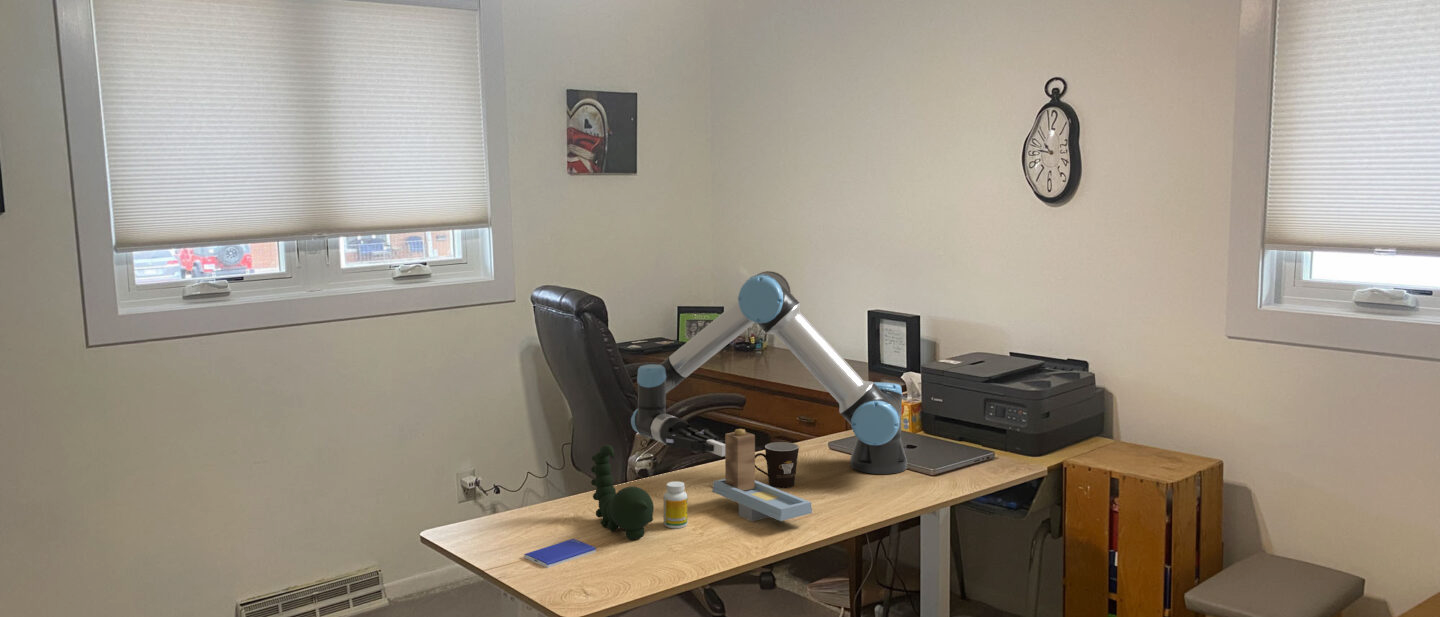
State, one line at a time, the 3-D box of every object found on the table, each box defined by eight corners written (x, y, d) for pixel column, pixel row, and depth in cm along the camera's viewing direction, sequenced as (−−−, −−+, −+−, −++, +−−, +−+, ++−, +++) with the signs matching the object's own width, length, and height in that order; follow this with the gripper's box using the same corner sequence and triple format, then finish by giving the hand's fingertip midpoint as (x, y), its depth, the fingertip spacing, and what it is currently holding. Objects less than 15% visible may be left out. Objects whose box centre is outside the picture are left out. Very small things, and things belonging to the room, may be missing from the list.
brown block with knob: (725, 486, 246) (725, 429, 244) (742, 483, 249) (742, 426, 247) (737, 492, 242) (737, 433, 240) (754, 488, 245) (754, 430, 243)
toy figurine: (583, 525, 237) (628, 550, 216) (578, 444, 236) (624, 460, 215) (620, 519, 242) (668, 542, 220) (616, 439, 241) (664, 454, 219)
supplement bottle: (660, 523, 234) (659, 482, 233) (681, 519, 236) (681, 479, 235) (669, 530, 229) (669, 488, 228) (691, 526, 232) (691, 485, 230)
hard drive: (572, 537, 222) (524, 552, 213) (596, 547, 216) (547, 563, 208) (572, 544, 222) (524, 560, 213) (596, 554, 216) (547, 570, 208)
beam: (712, 503, 248) (712, 481, 247) (742, 497, 253) (742, 474, 252) (780, 534, 227) (780, 509, 226) (811, 526, 232) (812, 502, 231)
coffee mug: (799, 480, 267) (799, 442, 265) (798, 490, 258) (798, 451, 257) (754, 479, 268) (754, 441, 267) (751, 489, 259) (751, 450, 258)
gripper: (692, 441, 273) (745, 461, 254) (650, 448, 266) (702, 470, 246) (692, 413, 272) (745, 431, 253) (650, 420, 265) (702, 439, 245)
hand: (724, 450), depth 250 cm, fingers closed
